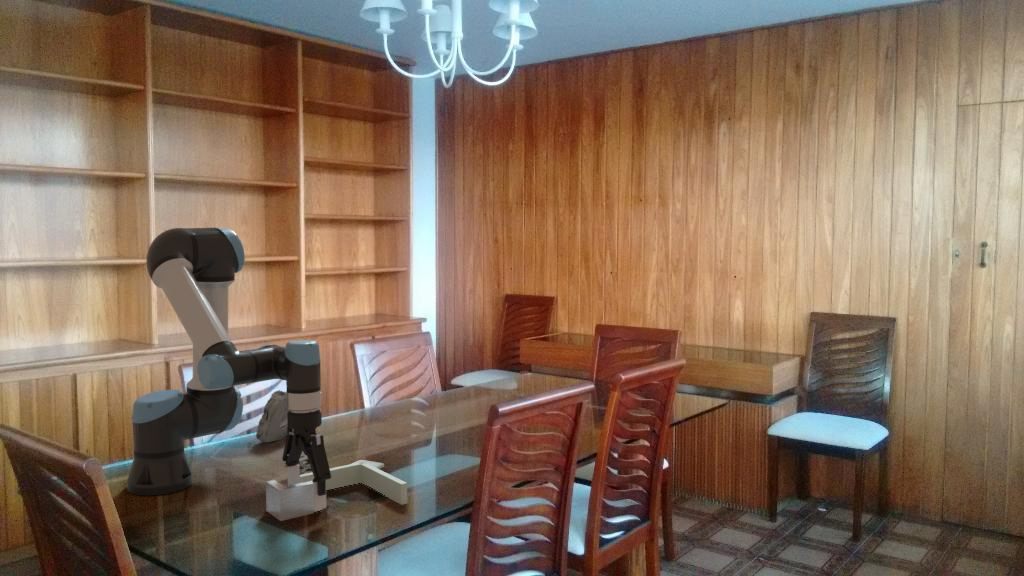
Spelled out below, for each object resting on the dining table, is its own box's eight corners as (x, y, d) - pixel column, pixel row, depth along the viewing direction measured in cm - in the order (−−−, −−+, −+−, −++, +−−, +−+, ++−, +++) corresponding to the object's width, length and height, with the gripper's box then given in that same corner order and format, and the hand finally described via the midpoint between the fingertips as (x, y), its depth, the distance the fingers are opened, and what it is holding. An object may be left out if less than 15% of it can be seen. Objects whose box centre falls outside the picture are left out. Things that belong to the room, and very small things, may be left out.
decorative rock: (285, 432, 253) (284, 385, 251) (302, 434, 250) (302, 387, 249) (250, 445, 238) (249, 395, 236) (268, 448, 235) (267, 397, 234)
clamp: (306, 448, 229) (335, 452, 225) (306, 455, 229) (335, 460, 225) (271, 463, 215) (302, 468, 211) (271, 471, 216) (302, 476, 212)
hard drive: (356, 476, 207) (384, 462, 218) (331, 471, 211) (359, 458, 222) (356, 482, 207) (384, 468, 219) (331, 477, 211) (359, 464, 222)
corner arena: (338, 521, 179) (337, 499, 179) (297, 495, 195) (297, 475, 195) (407, 503, 190) (407, 482, 190) (363, 480, 207) (363, 461, 206)
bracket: (280, 521, 179) (280, 490, 178) (266, 510, 185) (265, 481, 184) (322, 511, 185) (321, 481, 185) (306, 501, 191) (306, 472, 191)
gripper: (345, 416, 174) (347, 511, 176) (296, 397, 194) (298, 483, 195) (313, 421, 170) (315, 519, 171) (266, 402, 189) (269, 490, 191)
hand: (306, 500), depth 183 cm, fingers open, 13 cm apart
